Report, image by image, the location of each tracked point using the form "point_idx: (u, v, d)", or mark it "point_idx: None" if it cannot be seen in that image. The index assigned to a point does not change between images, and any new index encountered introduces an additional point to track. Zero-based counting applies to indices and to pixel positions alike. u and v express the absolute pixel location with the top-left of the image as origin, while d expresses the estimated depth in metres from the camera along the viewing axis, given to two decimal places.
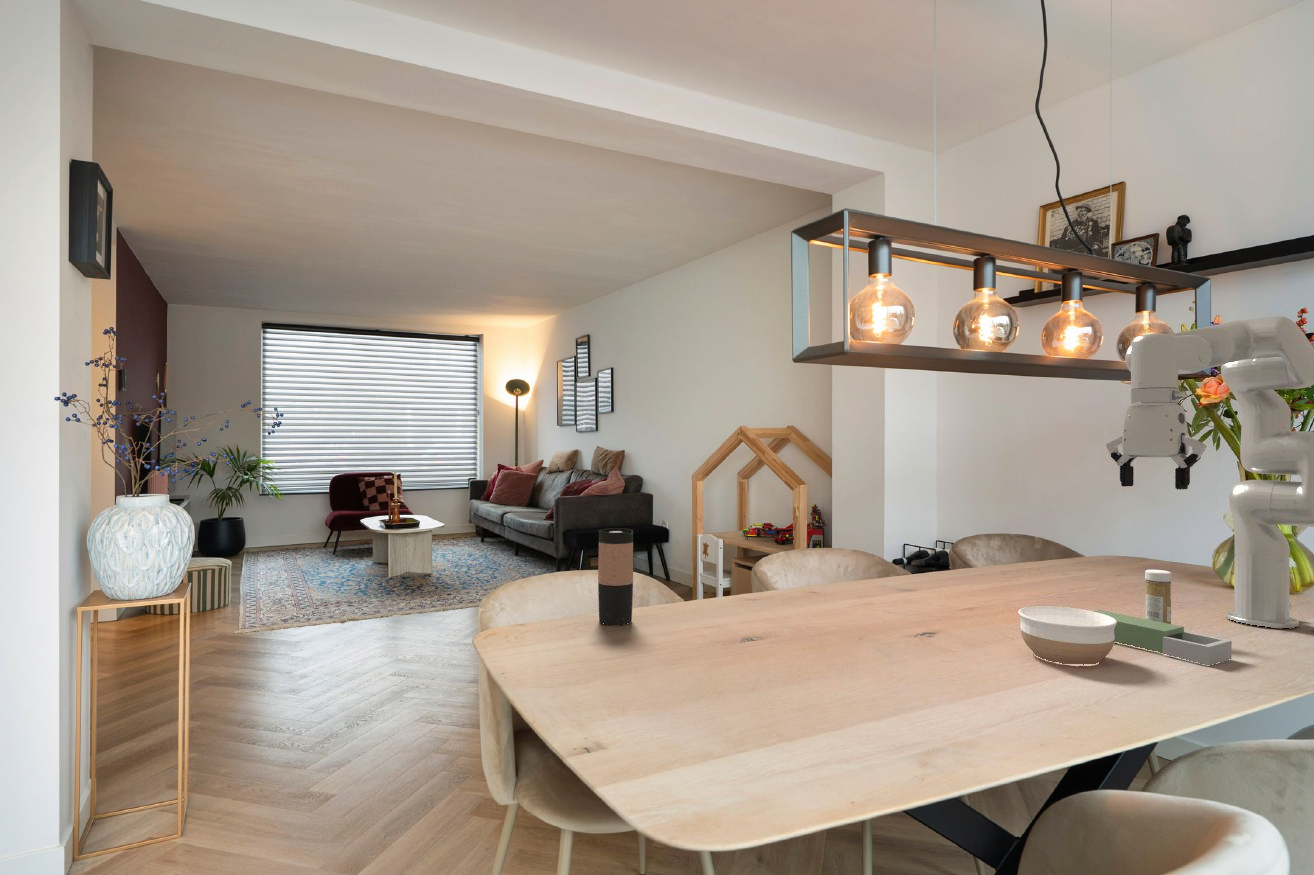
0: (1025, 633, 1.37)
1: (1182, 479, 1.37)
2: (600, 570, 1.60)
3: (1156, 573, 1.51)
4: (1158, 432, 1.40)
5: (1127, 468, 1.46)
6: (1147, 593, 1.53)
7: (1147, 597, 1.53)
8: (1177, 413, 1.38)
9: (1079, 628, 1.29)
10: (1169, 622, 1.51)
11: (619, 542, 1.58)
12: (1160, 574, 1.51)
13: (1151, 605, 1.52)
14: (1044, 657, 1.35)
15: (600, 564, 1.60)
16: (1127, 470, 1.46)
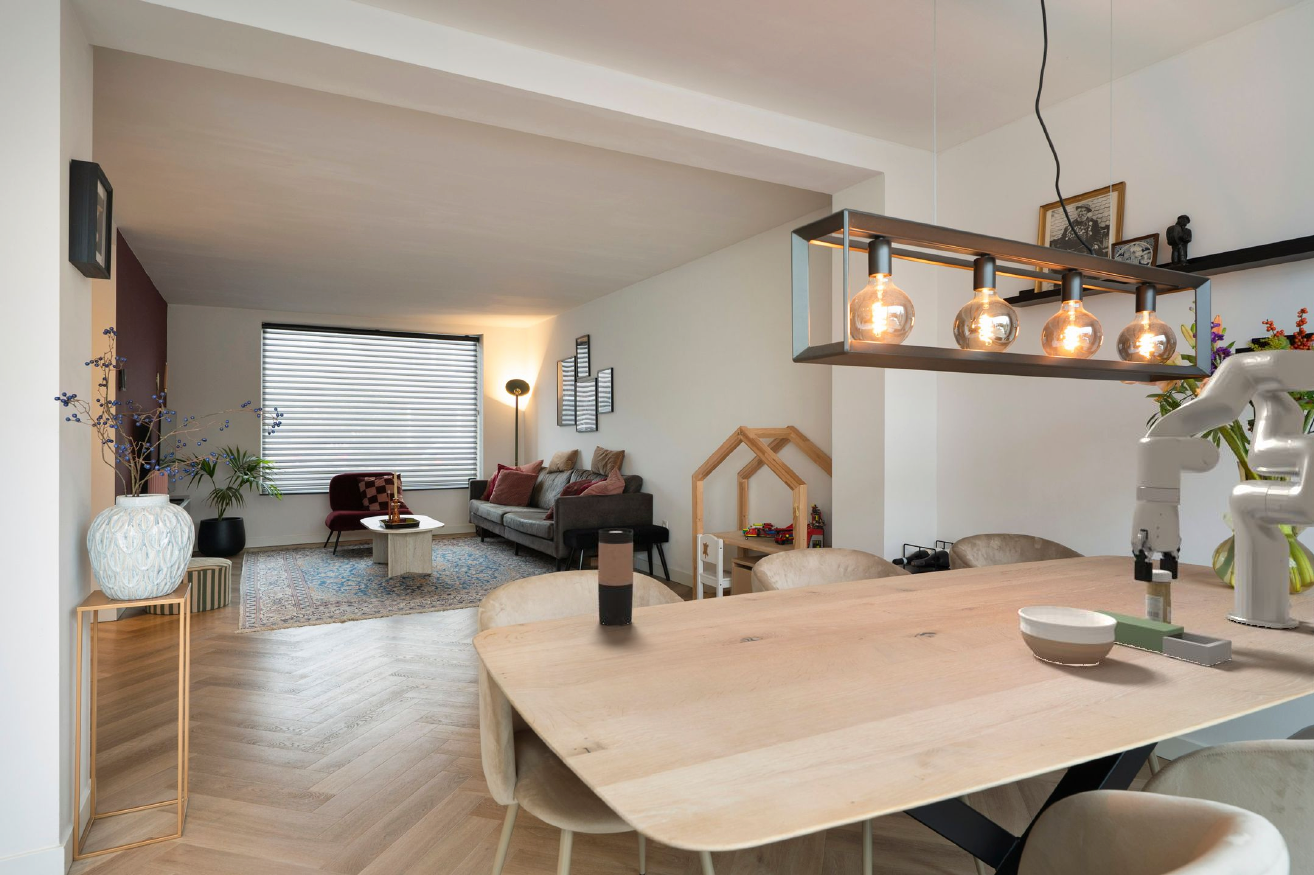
0: (1025, 633, 1.37)
1: None
2: (600, 570, 1.60)
3: (1156, 573, 1.51)
4: None
5: None
6: (1147, 593, 1.53)
7: (1147, 597, 1.53)
8: None
9: (1079, 628, 1.29)
10: (1169, 622, 1.51)
11: (619, 542, 1.58)
12: (1160, 574, 1.51)
13: (1151, 605, 1.52)
14: (1044, 657, 1.35)
15: (600, 564, 1.60)
16: None
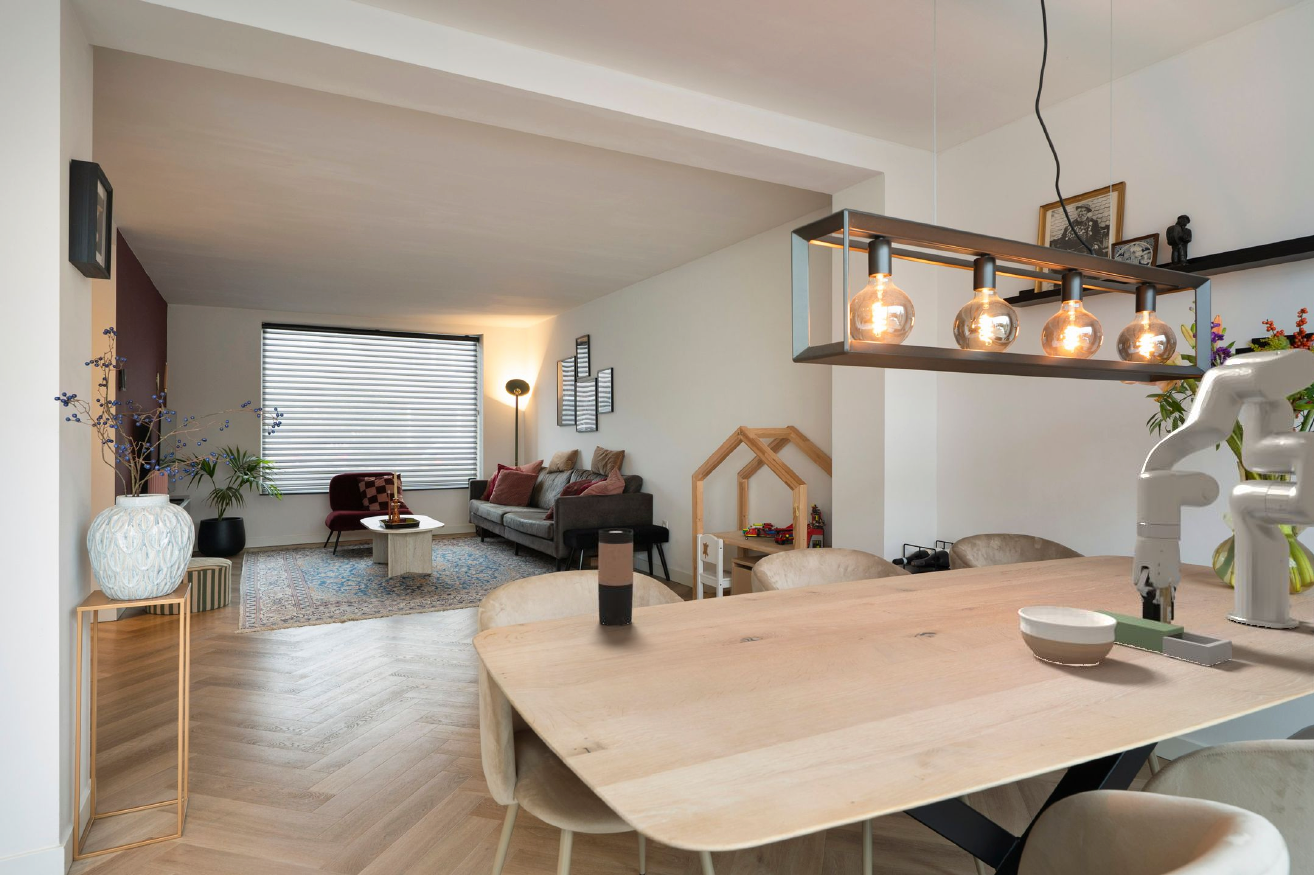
0: (1025, 633, 1.37)
1: None
2: (600, 570, 1.60)
3: None
4: (1175, 564, 1.52)
5: None
6: None
7: None
8: None
9: (1079, 628, 1.29)
10: (1169, 622, 1.51)
11: (619, 542, 1.58)
12: None
13: None
14: (1044, 657, 1.35)
15: (600, 564, 1.60)
16: None
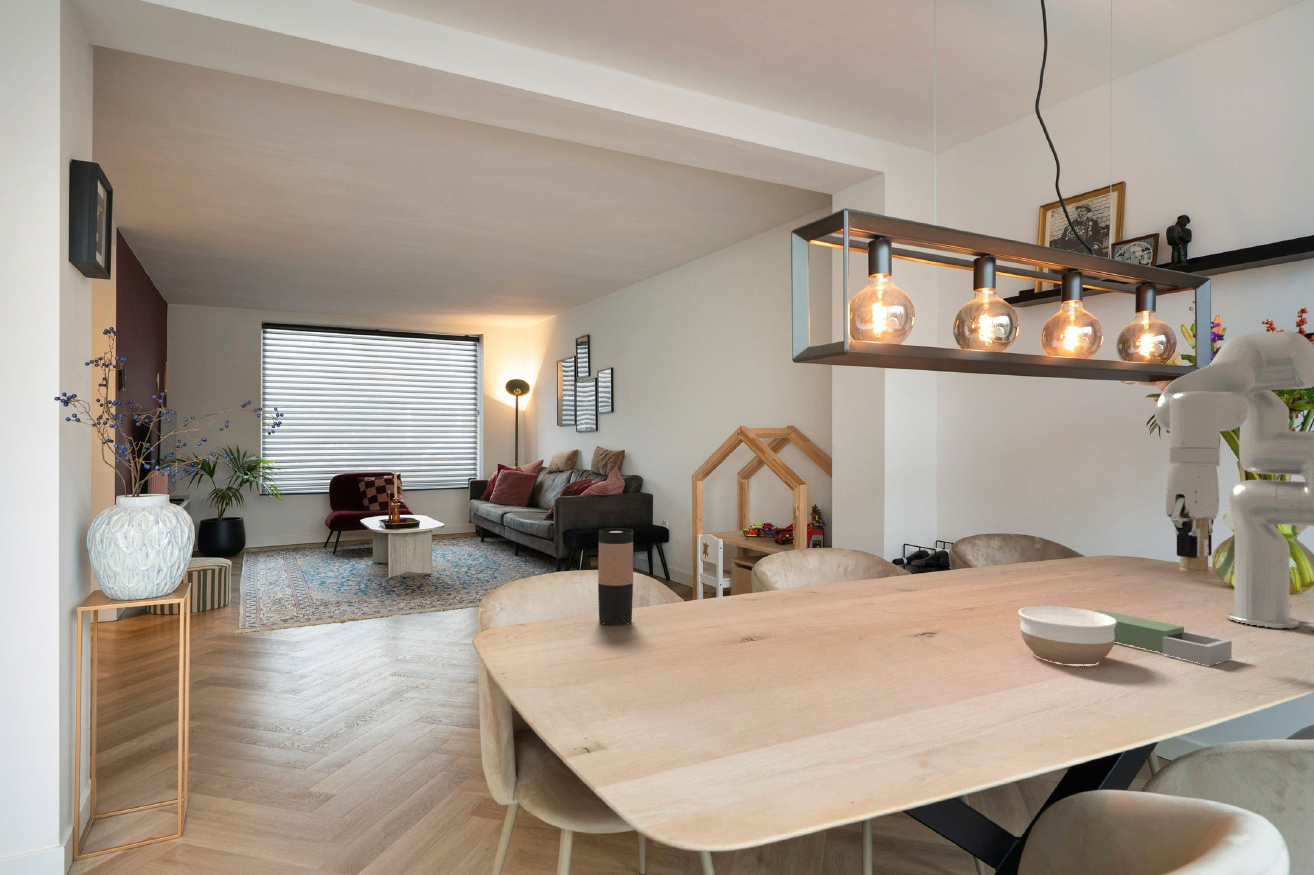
0: (1025, 633, 1.37)
1: None
2: (600, 570, 1.60)
3: None
4: None
5: None
6: None
7: None
8: None
9: (1079, 628, 1.29)
10: (1206, 556, 1.36)
11: (619, 542, 1.58)
12: None
13: None
14: (1044, 657, 1.35)
15: (600, 564, 1.60)
16: None
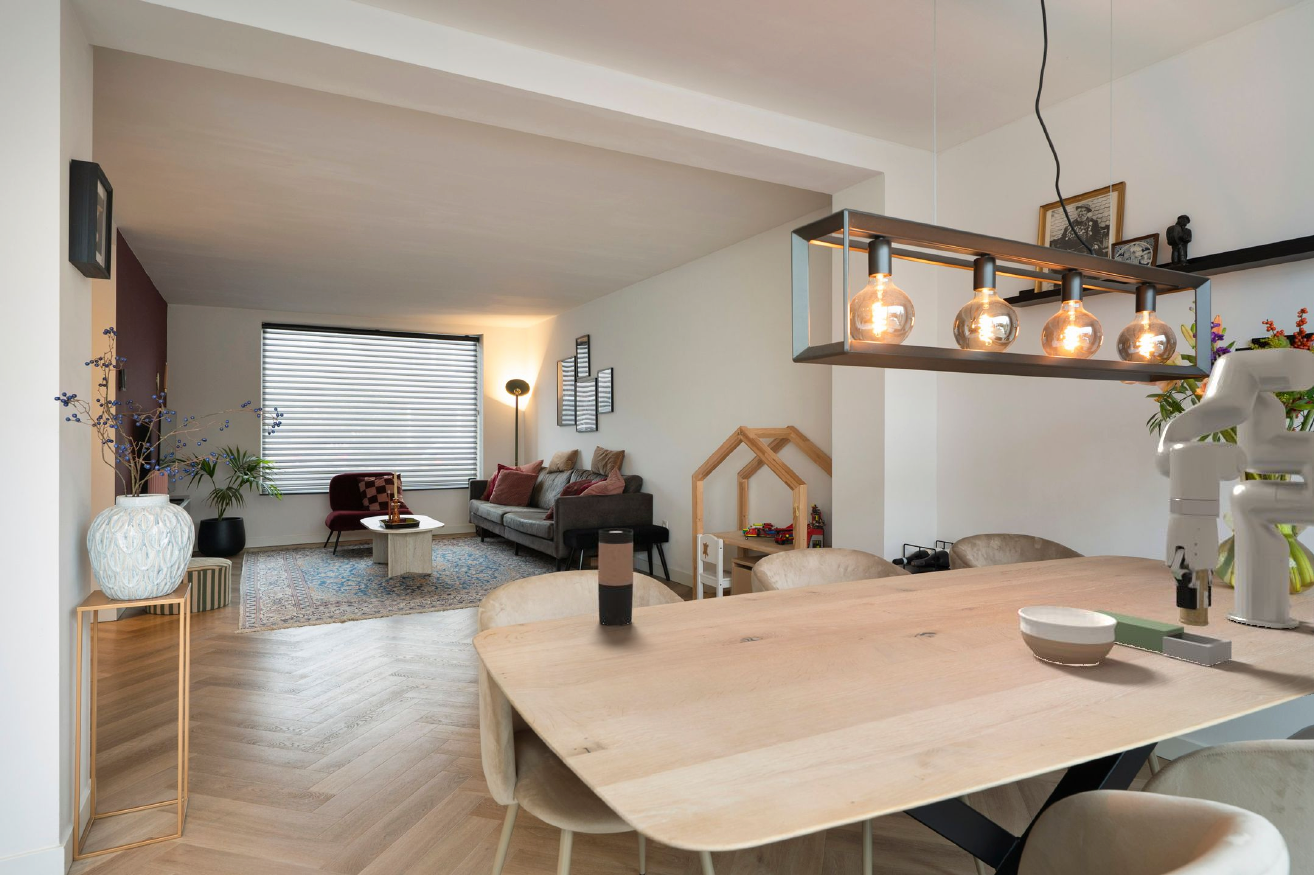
0: (1025, 633, 1.37)
1: None
2: (600, 570, 1.60)
3: None
4: (1212, 544, 1.37)
5: None
6: None
7: None
8: None
9: (1079, 628, 1.29)
10: (1206, 608, 1.36)
11: (619, 542, 1.58)
12: None
13: None
14: (1044, 657, 1.35)
15: (600, 564, 1.60)
16: None
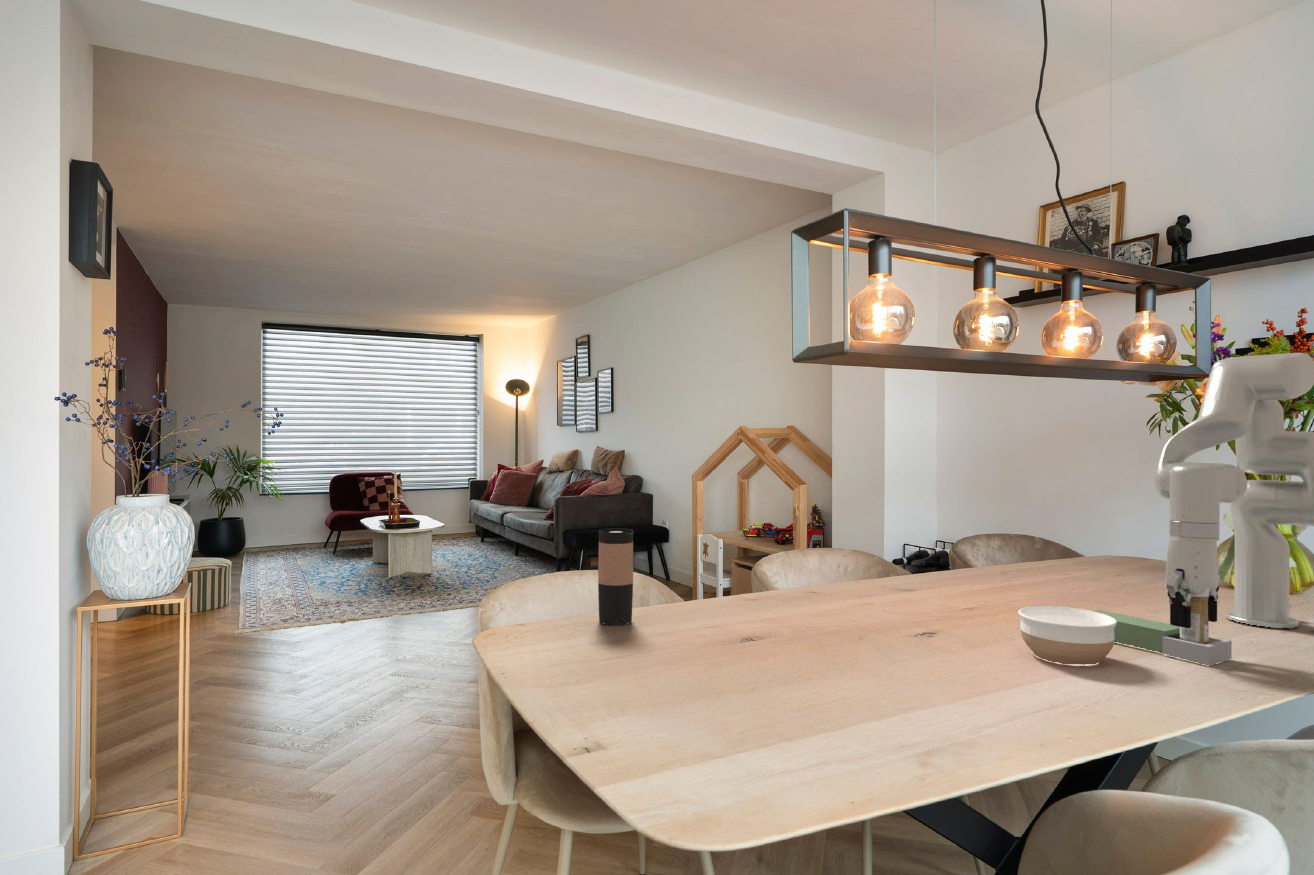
0: (1025, 633, 1.37)
1: None
2: (600, 570, 1.60)
3: None
4: (1212, 567, 1.37)
5: None
6: None
7: None
8: None
9: (1079, 628, 1.29)
10: (1206, 642, 1.36)
11: (619, 542, 1.58)
12: None
13: None
14: (1044, 657, 1.35)
15: (600, 564, 1.60)
16: None
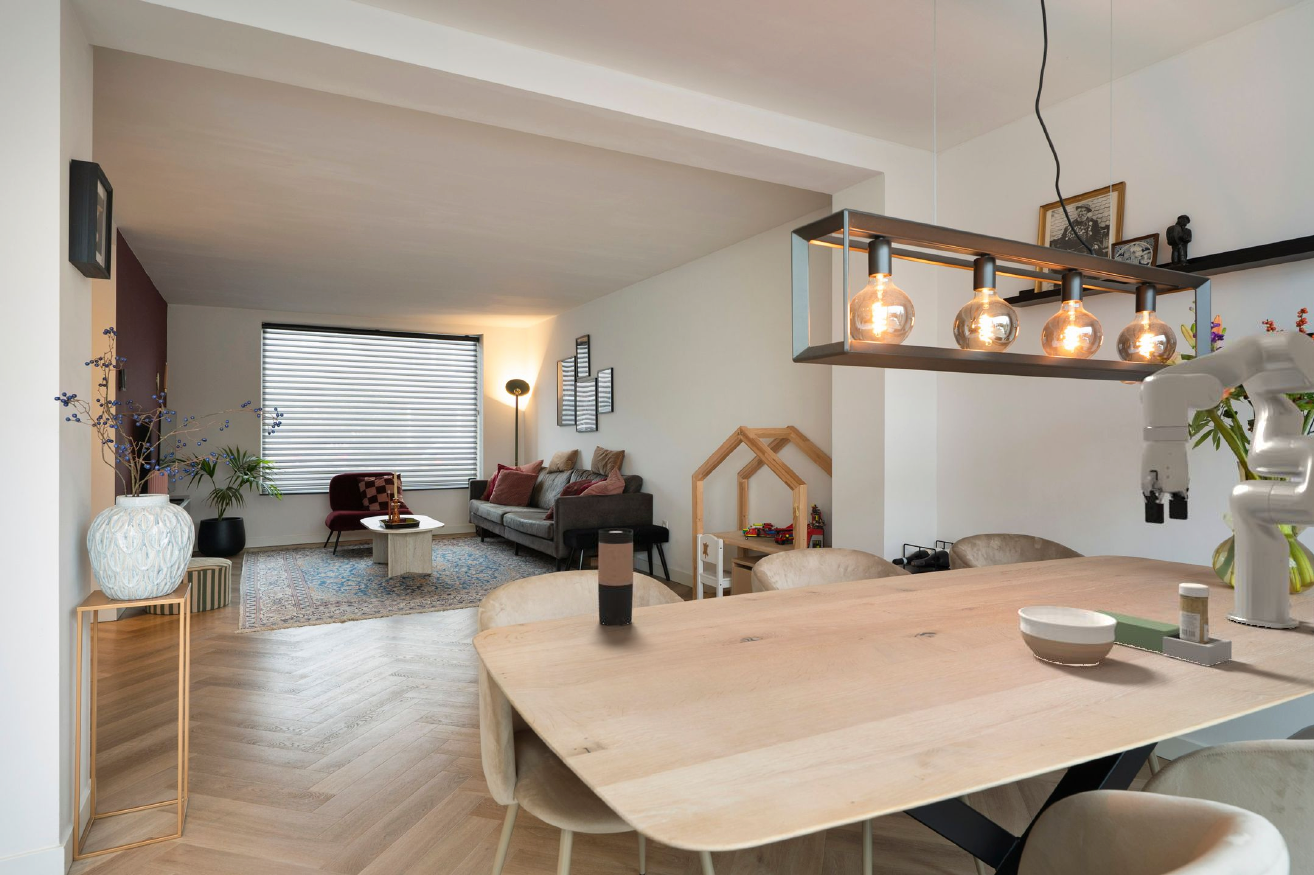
0: (1025, 633, 1.37)
1: None
2: (600, 570, 1.60)
3: (1192, 587, 1.36)
4: (1182, 468, 1.48)
5: None
6: (1181, 609, 1.38)
7: (1181, 614, 1.38)
8: None
9: (1079, 628, 1.29)
10: (1206, 642, 1.36)
11: (619, 542, 1.58)
12: (1196, 589, 1.36)
13: (1186, 623, 1.37)
14: (1044, 657, 1.35)
15: (600, 564, 1.60)
16: None
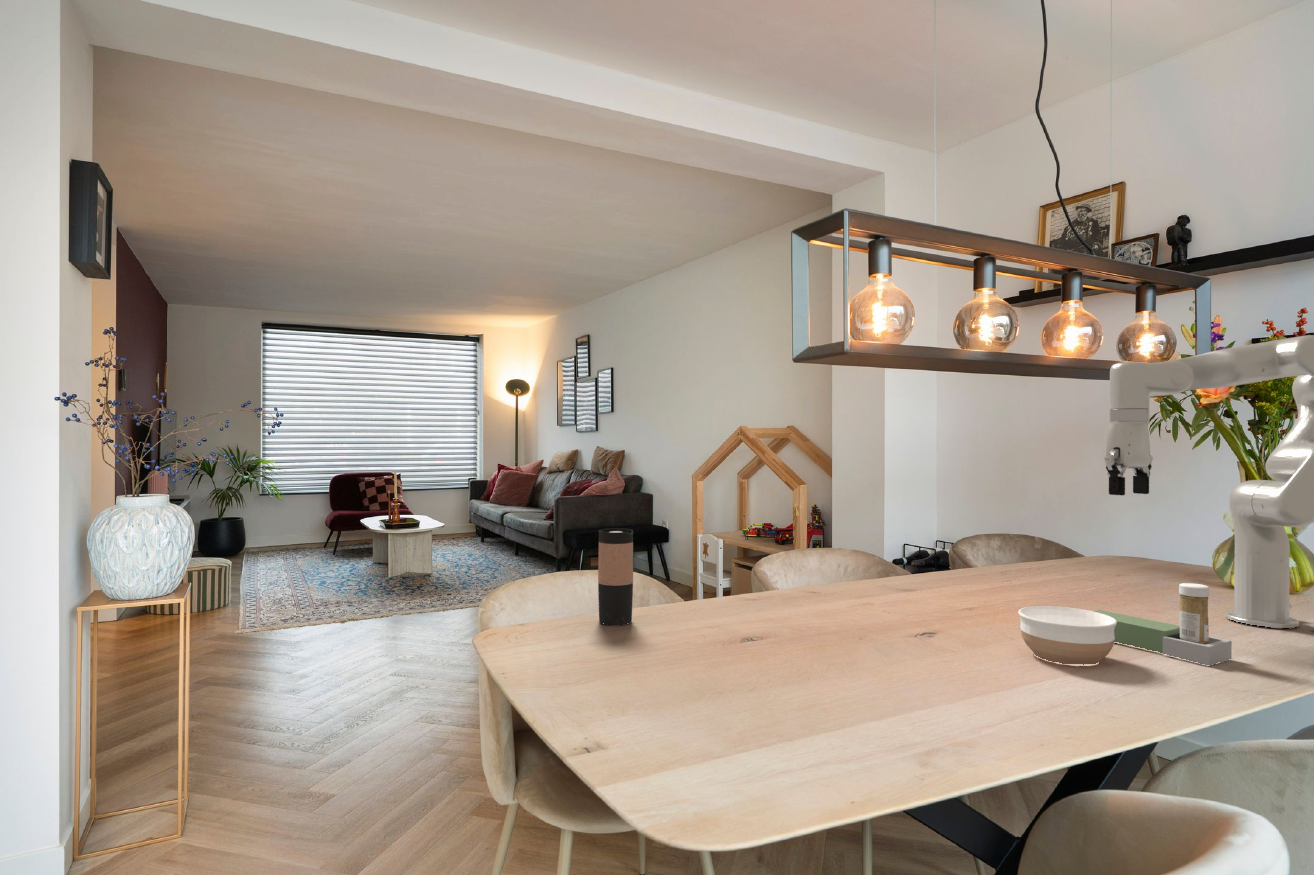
0: (1025, 633, 1.37)
1: None
2: (600, 570, 1.60)
3: (1192, 587, 1.36)
4: (1144, 446, 1.64)
5: None
6: (1181, 609, 1.38)
7: (1181, 614, 1.38)
8: None
9: (1079, 628, 1.29)
10: (1206, 642, 1.36)
11: (619, 542, 1.58)
12: (1196, 589, 1.36)
13: (1186, 623, 1.37)
14: (1044, 657, 1.35)
15: (600, 564, 1.60)
16: None
